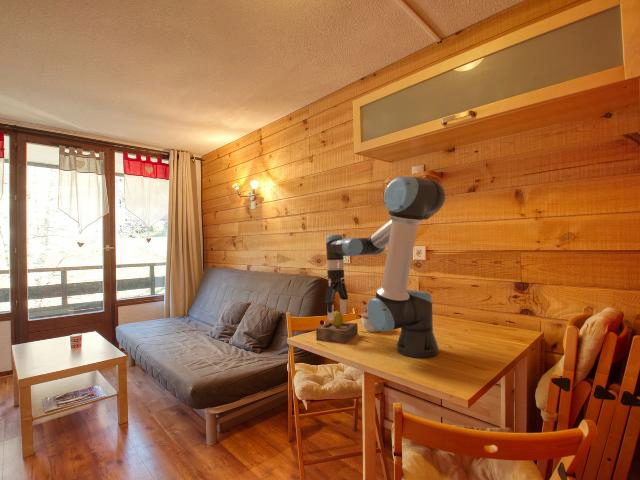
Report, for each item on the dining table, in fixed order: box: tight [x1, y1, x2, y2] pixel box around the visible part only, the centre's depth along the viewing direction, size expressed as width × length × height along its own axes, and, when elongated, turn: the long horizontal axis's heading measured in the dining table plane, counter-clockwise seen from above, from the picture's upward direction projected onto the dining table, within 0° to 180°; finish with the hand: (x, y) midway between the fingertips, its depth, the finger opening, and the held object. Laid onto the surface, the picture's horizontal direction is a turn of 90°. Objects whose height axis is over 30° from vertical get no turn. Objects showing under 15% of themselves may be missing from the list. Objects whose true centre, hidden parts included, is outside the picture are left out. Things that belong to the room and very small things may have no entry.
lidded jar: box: [360, 311, 380, 333], centre depth 156 cm, size 11×11×9 cm
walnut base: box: [315, 320, 359, 344], centre depth 146 cm, size 14×14×5 cm
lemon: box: [330, 310, 344, 328], centre depth 146 cm, size 6×6×8 cm
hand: (337, 316), depth 146 cm, fingers open, 13 cm apart
